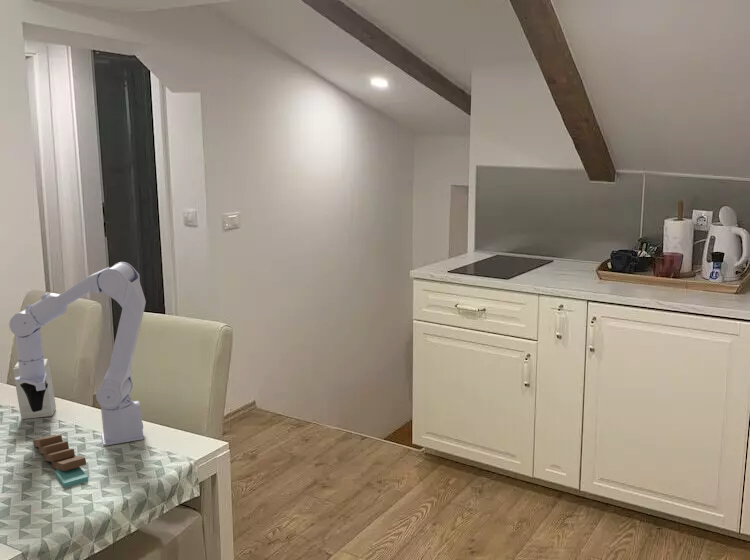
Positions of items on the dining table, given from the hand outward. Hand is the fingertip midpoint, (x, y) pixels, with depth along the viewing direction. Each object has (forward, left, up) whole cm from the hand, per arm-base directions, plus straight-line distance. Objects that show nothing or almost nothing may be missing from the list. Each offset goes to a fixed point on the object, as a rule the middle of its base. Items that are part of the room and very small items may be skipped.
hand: (36, 410), depth 190 cm
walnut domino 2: (-2, +8, -7) cm, 11 cm away
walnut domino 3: (-3, +13, -7) cm, 15 cm away
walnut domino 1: (-1, +3, -7) cm, 8 cm away
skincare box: (+1, -19, -8) cm, 20 cm away
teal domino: (-6, +22, -8) cm, 24 cm away
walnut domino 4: (-5, +18, -7) cm, 20 cm away
